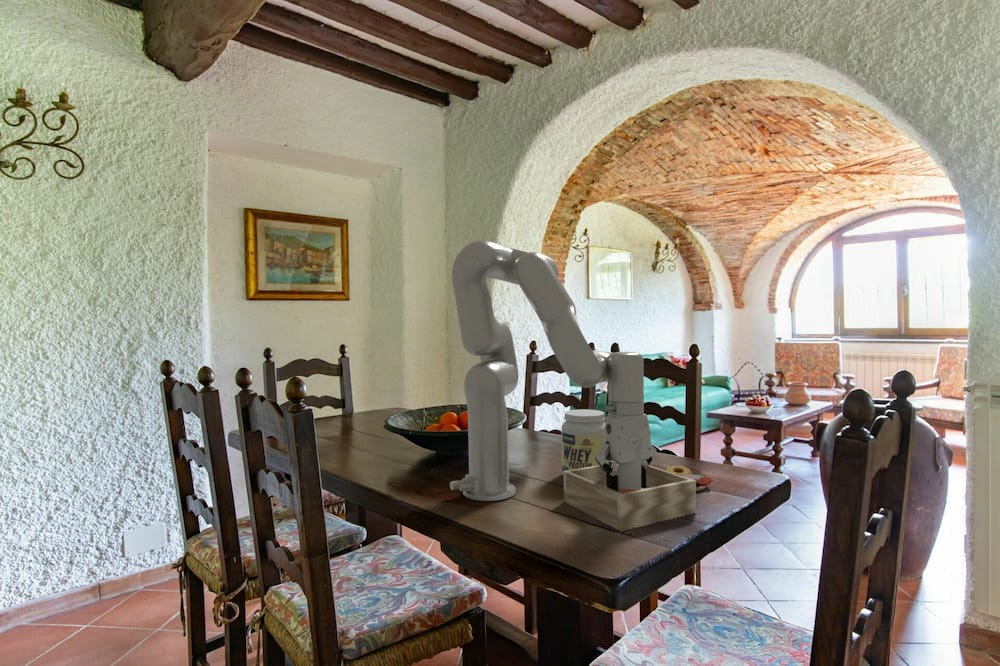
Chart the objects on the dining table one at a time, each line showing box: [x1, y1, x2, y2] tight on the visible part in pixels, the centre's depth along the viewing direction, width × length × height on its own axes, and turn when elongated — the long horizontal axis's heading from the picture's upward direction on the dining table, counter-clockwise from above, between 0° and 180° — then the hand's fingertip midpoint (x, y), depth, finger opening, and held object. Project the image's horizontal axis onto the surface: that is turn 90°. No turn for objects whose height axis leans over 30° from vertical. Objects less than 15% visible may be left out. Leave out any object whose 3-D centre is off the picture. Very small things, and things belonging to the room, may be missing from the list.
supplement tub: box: [560, 409, 607, 477], centre depth 145 cm, size 12×12×17 cm
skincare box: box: [615, 451, 641, 493], centre depth 121 cm, size 6×4×12 cm
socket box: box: [563, 463, 697, 532], centre depth 121 cm, size 20×20×7 cm
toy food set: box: [664, 465, 712, 492], centre depth 137 cm, size 13×13×3 cm
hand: (626, 488), depth 121 cm, fingers closed on skincare box, 7 cm apart
